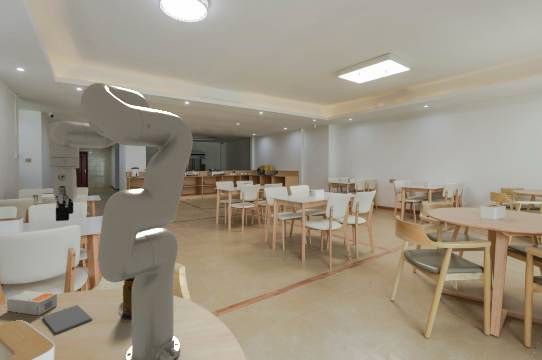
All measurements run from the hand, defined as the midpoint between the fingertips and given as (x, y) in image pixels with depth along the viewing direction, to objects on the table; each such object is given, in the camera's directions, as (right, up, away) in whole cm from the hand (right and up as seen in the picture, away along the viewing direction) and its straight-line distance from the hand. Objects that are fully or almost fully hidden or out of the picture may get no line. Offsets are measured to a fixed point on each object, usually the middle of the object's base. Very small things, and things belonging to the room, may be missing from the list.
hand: (65, 217), depth 89 cm
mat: (+4, -30, -5) cm, 31 cm away
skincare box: (-5, -28, 0) cm, 28 cm away
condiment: (+22, -31, 0) cm, 38 cm away
